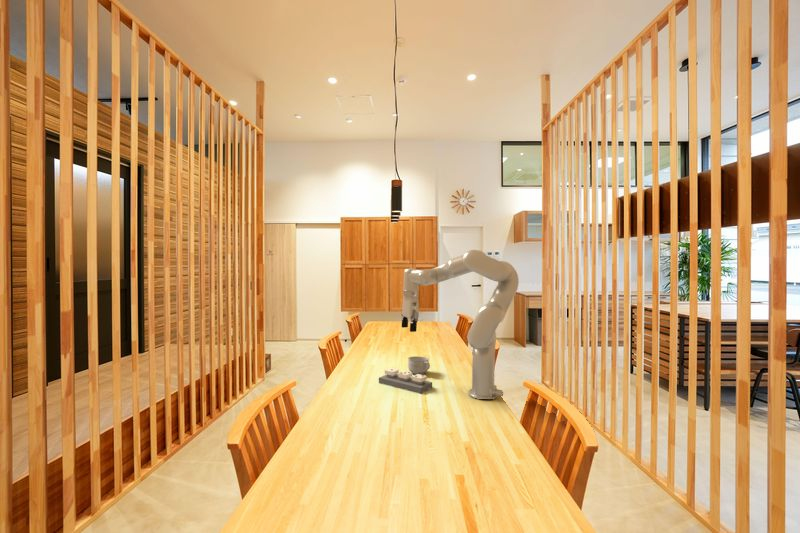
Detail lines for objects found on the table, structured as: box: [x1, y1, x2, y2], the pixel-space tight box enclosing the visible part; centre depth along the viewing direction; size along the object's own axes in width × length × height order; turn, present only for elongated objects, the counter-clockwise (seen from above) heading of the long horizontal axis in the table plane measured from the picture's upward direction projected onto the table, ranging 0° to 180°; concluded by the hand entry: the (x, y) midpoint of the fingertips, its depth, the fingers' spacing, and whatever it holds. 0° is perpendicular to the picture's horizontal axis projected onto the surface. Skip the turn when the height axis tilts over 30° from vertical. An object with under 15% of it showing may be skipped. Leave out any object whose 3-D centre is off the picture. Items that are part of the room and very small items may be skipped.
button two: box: [412, 374, 428, 385], centre depth 170 cm, size 5×5×4 cm
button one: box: [384, 367, 400, 379], centre depth 179 cm, size 5×5×4 cm
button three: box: [398, 370, 413, 382], centre depth 175 cm, size 5×5×4 cm
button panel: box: [378, 374, 433, 395], centre depth 175 cm, size 24×10×2 cm, turn 54°
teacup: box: [407, 355, 431, 375], centre depth 192 cm, size 14×11×8 cm
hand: (408, 329), depth 178 cm, fingers open, 9 cm apart
